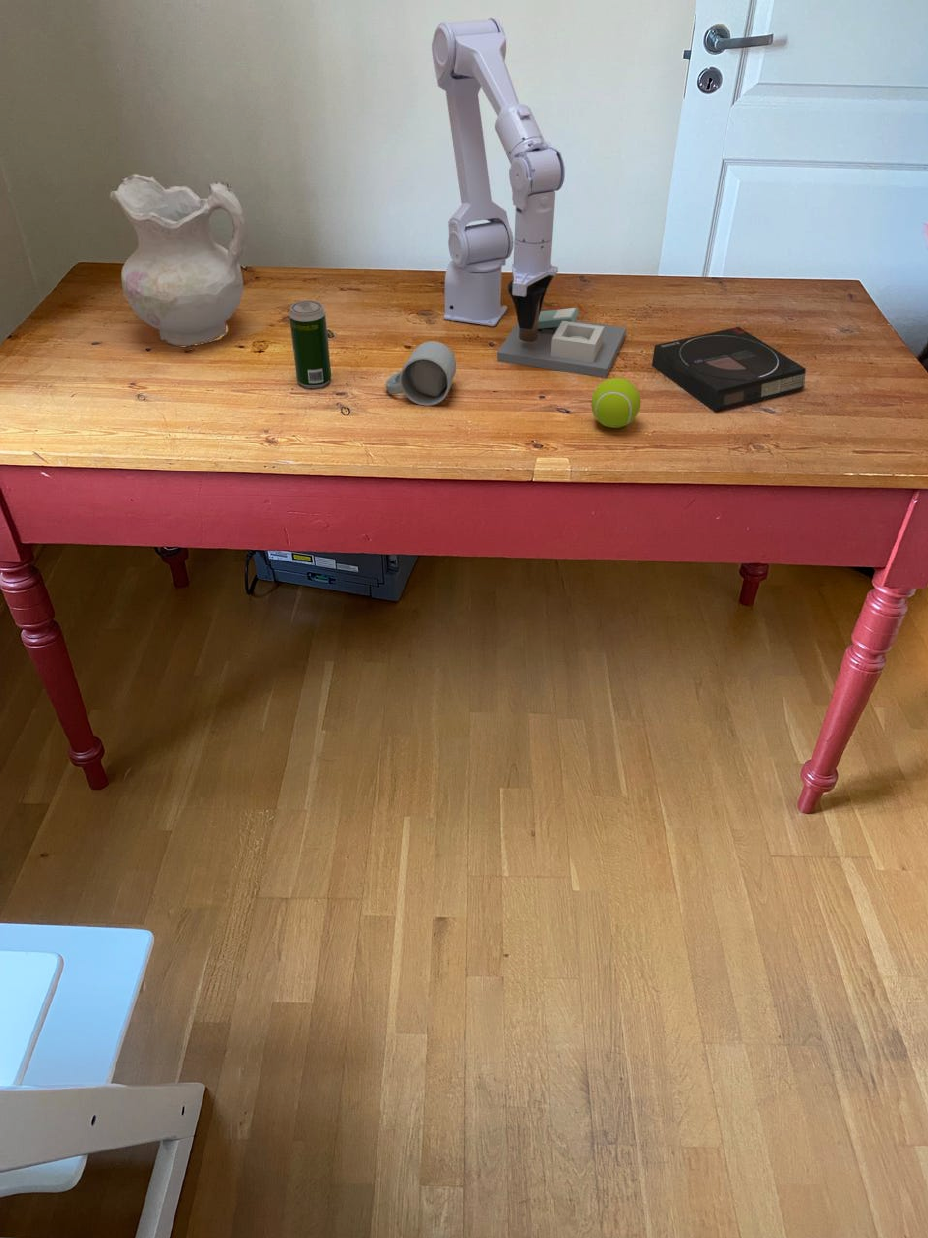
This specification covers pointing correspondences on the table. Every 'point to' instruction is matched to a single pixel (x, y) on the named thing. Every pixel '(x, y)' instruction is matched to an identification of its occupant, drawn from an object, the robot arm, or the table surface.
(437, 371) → the ceramic mug
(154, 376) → the table surface
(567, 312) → the block
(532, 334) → the dowel
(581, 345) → the panel
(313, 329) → the beer can
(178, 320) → the ceramic pitcher
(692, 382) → the portable cd player
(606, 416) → the tennis ball
